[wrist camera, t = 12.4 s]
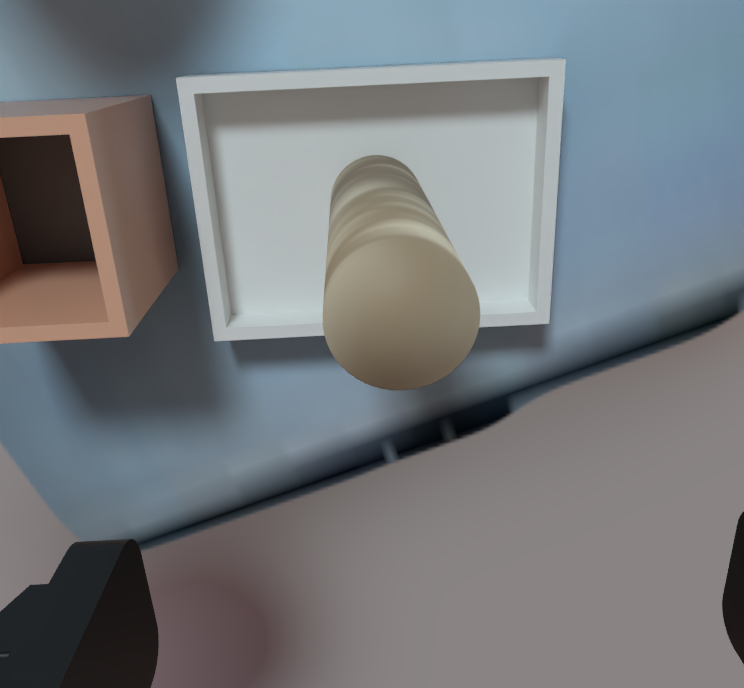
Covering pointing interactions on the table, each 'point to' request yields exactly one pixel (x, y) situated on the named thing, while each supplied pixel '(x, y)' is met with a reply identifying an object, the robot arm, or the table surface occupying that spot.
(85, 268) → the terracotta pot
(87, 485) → the table surface
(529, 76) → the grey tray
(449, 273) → the maple peg
